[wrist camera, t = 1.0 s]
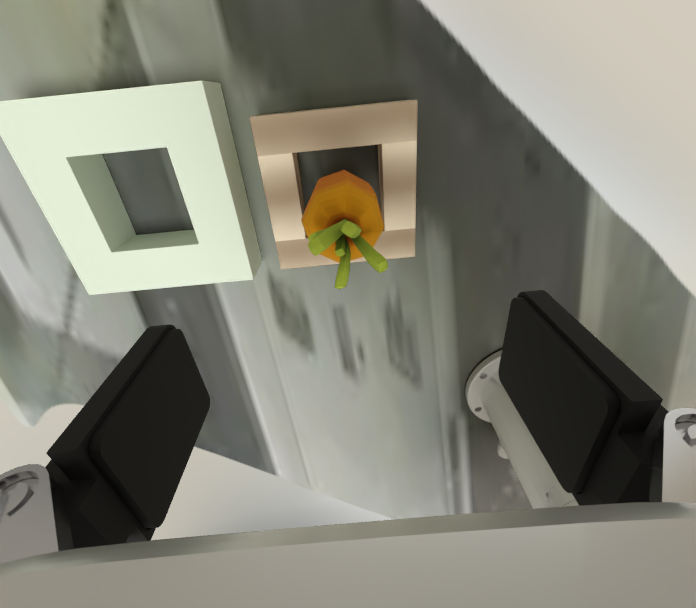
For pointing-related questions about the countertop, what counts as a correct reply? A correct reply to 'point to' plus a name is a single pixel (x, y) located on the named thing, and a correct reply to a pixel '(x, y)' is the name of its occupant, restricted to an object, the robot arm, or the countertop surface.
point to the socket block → (331, 133)
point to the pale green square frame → (102, 195)
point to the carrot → (344, 222)
